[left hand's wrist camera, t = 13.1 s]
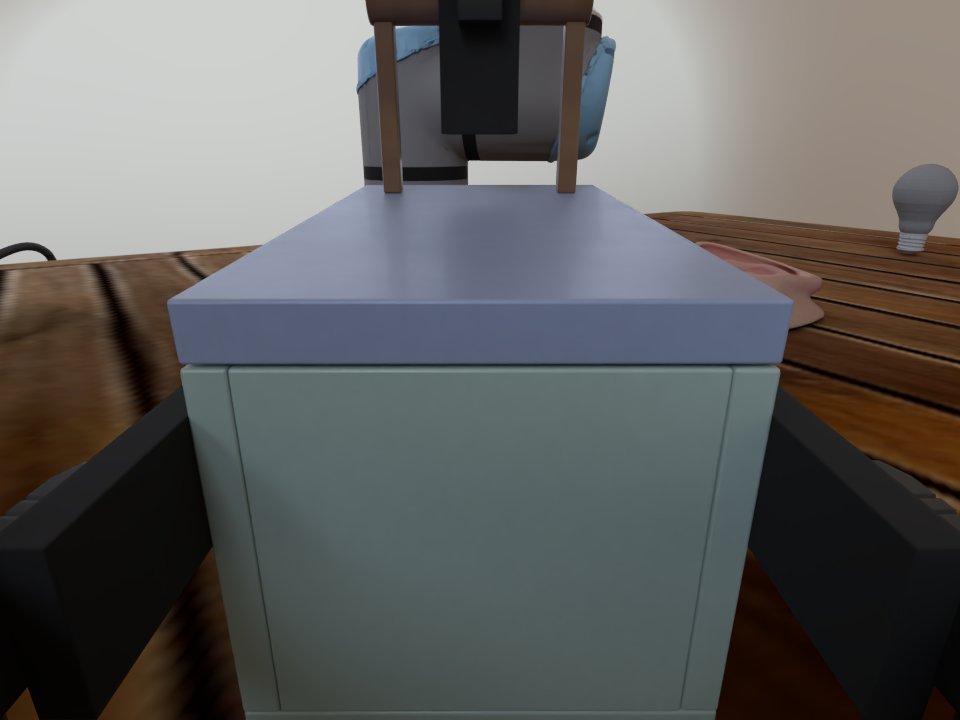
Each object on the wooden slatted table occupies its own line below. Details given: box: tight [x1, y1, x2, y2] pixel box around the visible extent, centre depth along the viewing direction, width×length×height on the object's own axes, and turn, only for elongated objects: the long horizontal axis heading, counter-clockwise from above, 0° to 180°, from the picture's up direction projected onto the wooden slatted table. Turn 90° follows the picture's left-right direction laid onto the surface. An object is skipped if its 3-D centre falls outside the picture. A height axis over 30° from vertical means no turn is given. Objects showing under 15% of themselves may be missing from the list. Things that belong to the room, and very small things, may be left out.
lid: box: [167, 0, 794, 364], centre depth 16 cm, size 18×10×9 cm, turn 0°
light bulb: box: [892, 164, 958, 254], centre depth 68 cm, size 6×6×10 cm
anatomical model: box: [695, 242, 824, 329], centre depth 46 cm, size 13×4×12 cm
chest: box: [180, 364, 780, 720], centre depth 19 cm, size 17×10×9 cm, turn 0°
